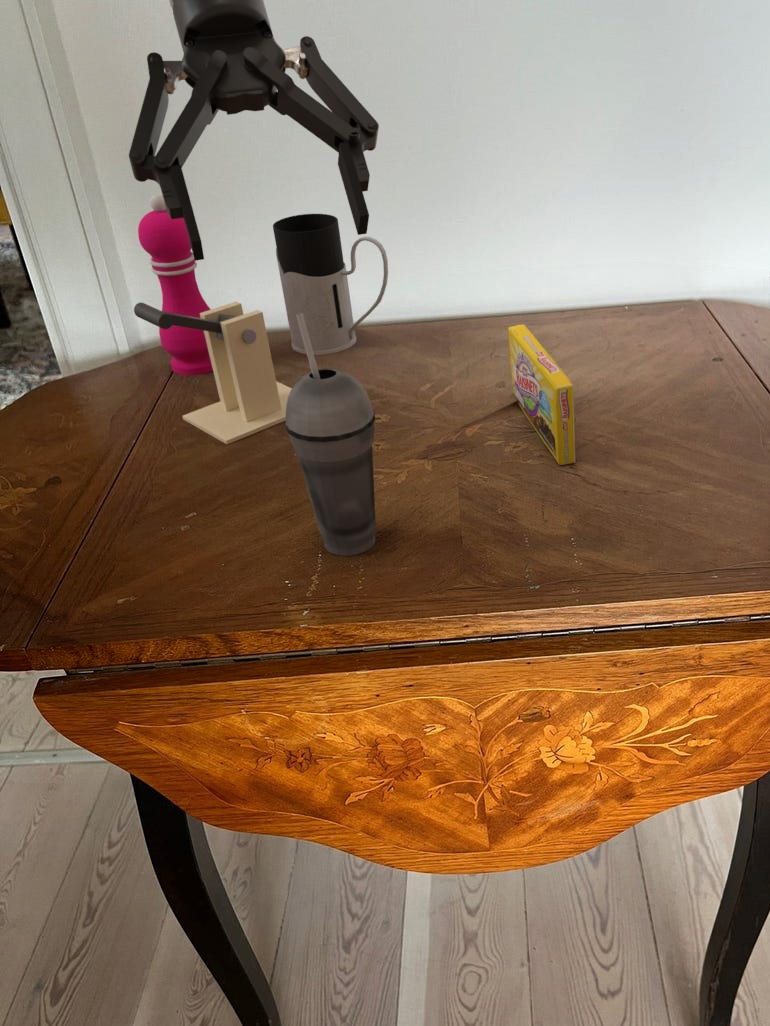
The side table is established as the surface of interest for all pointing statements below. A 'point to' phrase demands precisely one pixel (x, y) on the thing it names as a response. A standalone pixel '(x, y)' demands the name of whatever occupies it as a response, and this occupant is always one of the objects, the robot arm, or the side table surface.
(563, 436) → the candy box
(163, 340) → the pepper mill
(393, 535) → the side table surface
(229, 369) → the lever mount
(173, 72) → the robot arm
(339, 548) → the beverage cup
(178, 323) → the wooden stand lever
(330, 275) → the glass holder
